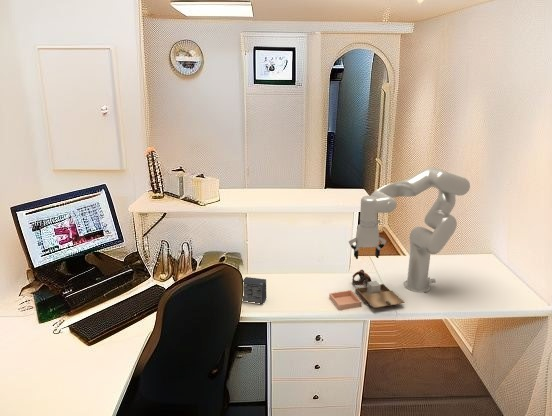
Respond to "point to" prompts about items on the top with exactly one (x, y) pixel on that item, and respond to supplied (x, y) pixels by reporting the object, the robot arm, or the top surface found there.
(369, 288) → the stone block
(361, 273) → the broken pottery ring
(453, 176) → the robot arm
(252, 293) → the small box
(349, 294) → the terracotta tray
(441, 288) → the top surface
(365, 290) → the sliding lid wooden box
